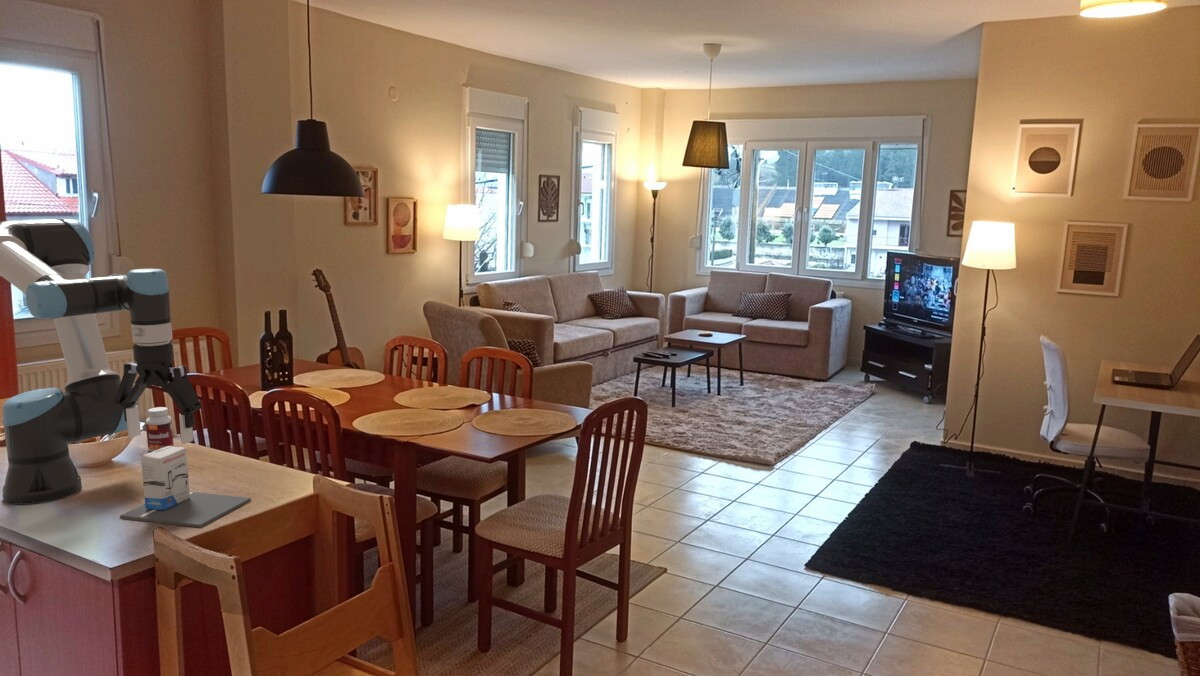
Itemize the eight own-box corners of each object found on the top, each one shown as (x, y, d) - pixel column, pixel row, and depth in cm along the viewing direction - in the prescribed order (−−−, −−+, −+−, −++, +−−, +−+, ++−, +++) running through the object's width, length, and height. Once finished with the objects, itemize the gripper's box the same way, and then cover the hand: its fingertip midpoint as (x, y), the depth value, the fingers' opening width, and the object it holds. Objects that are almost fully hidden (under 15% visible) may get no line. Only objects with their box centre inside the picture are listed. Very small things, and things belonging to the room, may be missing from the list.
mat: (120, 518, 181) (119, 514, 180) (175, 492, 196) (175, 489, 196) (200, 527, 175) (200, 524, 175) (250, 500, 191) (250, 497, 191)
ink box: (164, 511, 182) (159, 458, 180) (144, 509, 184) (139, 456, 182) (191, 497, 191) (187, 446, 189) (172, 495, 192) (167, 444, 190)
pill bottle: (146, 453, 225) (142, 413, 223) (149, 447, 230) (145, 407, 228) (173, 451, 227) (169, 410, 225) (175, 444, 233) (171, 405, 231)
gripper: (89, 342, 180) (99, 438, 184) (190, 349, 174) (197, 449, 178) (118, 335, 187) (126, 429, 191) (215, 343, 181) (222, 439, 185)
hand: (160, 439), depth 185 cm, fingers open, 13 cm apart
